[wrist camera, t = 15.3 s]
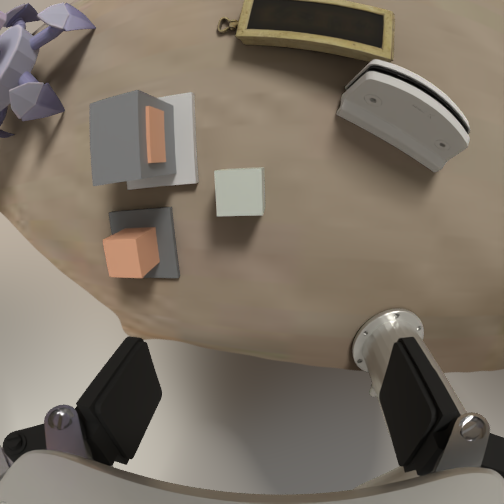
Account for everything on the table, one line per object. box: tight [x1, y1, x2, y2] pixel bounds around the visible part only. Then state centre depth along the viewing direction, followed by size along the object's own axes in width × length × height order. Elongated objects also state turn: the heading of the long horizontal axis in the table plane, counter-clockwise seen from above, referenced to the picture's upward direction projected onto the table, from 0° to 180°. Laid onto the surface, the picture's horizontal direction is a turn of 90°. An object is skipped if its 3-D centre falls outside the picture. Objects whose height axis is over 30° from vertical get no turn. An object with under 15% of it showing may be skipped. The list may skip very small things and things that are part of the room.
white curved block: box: [336, 59, 470, 172], centre depth 27 cm, size 17×5×10 cm, turn 68°
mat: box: [109, 207, 180, 278], centre depth 39 cm, size 10×10×1 cm
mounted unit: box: [90, 90, 199, 190], centre depth 29 cm, size 12×10×11 cm
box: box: [217, 0, 395, 63], centre depth 26 cm, size 8×22×5 cm, turn 82°
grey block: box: [214, 168, 265, 216], centre depth 33 cm, size 5×5×6 cm
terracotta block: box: [103, 227, 160, 278], centre depth 35 cm, size 5×5×6 cm
